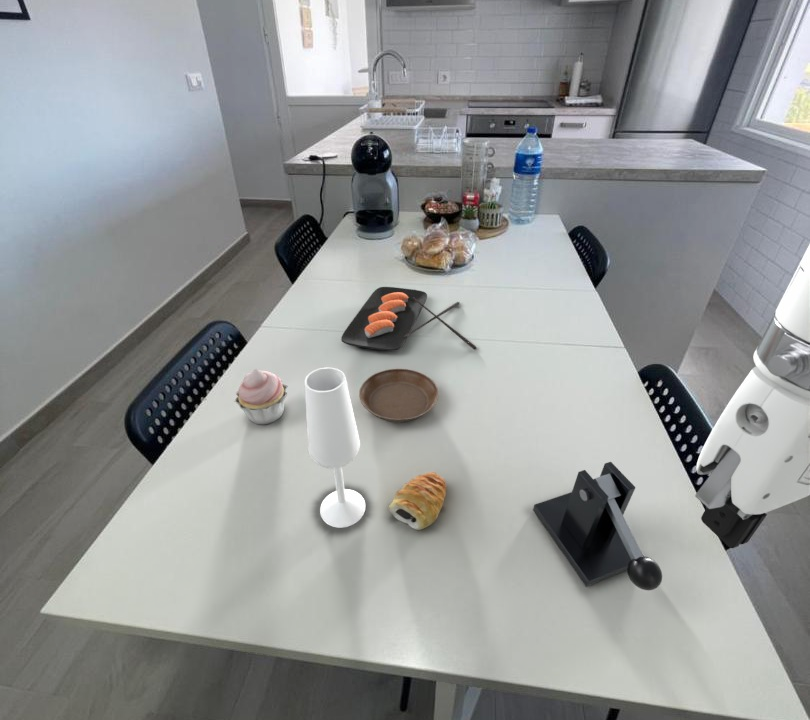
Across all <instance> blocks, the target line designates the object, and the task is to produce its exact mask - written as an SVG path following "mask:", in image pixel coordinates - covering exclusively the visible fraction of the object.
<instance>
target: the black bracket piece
mask: <svg viewBox="0 0 810 720" xmlns="http://www.w3.org/2000/svg"><path fill="white" fill-rule="evenodd" d="M607 474H610V475H611V477H612V479H613V481H614V483H615V485H616V487H617V489H618V491H619V493H620V495H621V496H618V497H615V498H614V499H615V501H616V503H617V505H618V507H619V509H620V511H621V513H622V515H623V516H624V514H625V512H626V510H627V508H628V505H629V504H630V501H631V499H632V496H633V494H634V492H635V490H636V486H635V485H634V484H633V482H631V481H630V480H629V479H628V477H626V476H625V475H624V473H622V471H620V469H619V468H618V467H617V466H616V465H615V464H614V463H613V462H612V461H608V462H605V463H604V464H603V467H602V470H601V473H600V475H599V477H601V476H604V475H607ZM593 479H594V478H593V477H592V476H591V475H590V474H589V472H588V471H587V470H586V469H583V470H580V471H578V472H577V475H576V479H575V482H574V485H573V487H572V491H571V492H568V493H564V494H562V495H559V496H555V497H553V498H549V499H547V500H544V501H542V502H537V503H535V504H534V505H533V508H532V511H533V513H534V514H535V516H536V517H537V518H538V520H540V522H541V525H542V526H543V527H544V528H545V530H546V531H547V533H548V534H549V536H550V537H551V539H552V540H553V542H554V543H555V544H556V546H557V547H558V548H559V550H560V551H561V553H562V554H563V555H564V557H565V559H566V560H567V562H568V563H569V564H570V565H571V567H572V568H573V570H574V572H575V573H576V574H577V576H578V578H579V579H580V580H581V582H582V583H583V584H584V586H585V587H588V586H589V587H590V586H591V585H593V584H597V583H599V582H601V581H603V580H607V579H608V578H611V577H614V576H615V575H618V574H621V573H623V572H625V571H627V567H628V564H629V562H630V561H631V558H630V556H629V554H628V552H627V550H626V548H625V546H624V544H623V542H622V540H621V538H620V536H619V534H618V532H617V530H616V528H615V526H614V523H613V521H612V519H611V517H610V515H609V513H608V511H607V509H606V507H605V505H606V502H607V500H608V495H607V494H606V493H605V492H604V491H603V490H602V489H601V487H600V486H599V485H598V484H597V483H596V482H595V481H594V480H593ZM642 555H643V556H645V555H644V554H643V553H642Z"/></svg>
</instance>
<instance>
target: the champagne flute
mask: <svg viewBox="0 0 810 720" xmlns="http://www.w3.org/2000/svg"><path fill="white" fill-rule="evenodd" d="M304 397H305V414H306V415H305V416H306V429H307V430H306V434H307V450H308V451H307V452H308V454H309V457H310V458H311V460H312V461H313V462H314V463H316V464H317V465H318V466H320V467H322V468H325V469H329V470H333V477H334V478H333V479H334V484H335V490H334V491H333V492H331V493H330V494H328V495H327V496H326V497H325V498H324V499H323V500H322V502H321V504H320V508H319V512H320V513H319V515H320V517H321V519H322V521H323V522H324V523H325V524H327V525H328V526H330V527H333V528H337V529H340V528H342V529H344V528H348V527H352V526H354V525H355V524H357V523H358V522H359V521H361V519H362V518H363V517H364V514H365V511H366V508H367V507H366V501H365V498H364V497H363V495H362V494H360V493H359V492H358V491H356V490H353V489H350V488H349V489H348V488H345V483H344V474H343V468H344V467H346V466H347V465H349V464H351V463H352V462H353V460H354V459H355V458H356V457H357V456H358V453H359V452H360V448H361V440H360V435H359V431H358V427H357V424H356V418H355V414H354V409H353V404H352V400H351V396H350V391H349V387H348V381H347V377H346V374H345V372H343V371H342V370H341V369H339V368H337V367H330V366H329V367H327V366H325V367H319V368H316V369H314V370H312V371H311V372H309V373H308V374H307V375H306V376H305V378H304Z"/></svg>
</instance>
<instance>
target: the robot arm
mask: <svg viewBox="0 0 810 720" xmlns="http://www.w3.org/2000/svg"><path fill="white" fill-rule="evenodd" d="M753 362H754V364H755V366H754V367H753V368H752V369H750V372H749V373H748V374H747V375H746V377H745V378H744V380H743V381H742V383H741V384H740V386H739V387H738V388H737V390H736V391H735V393H734V394H733V395H732V396H731V399H730V400H729V402H728V404H727V405H726V406H725V408H724V409H723V411H722V413H721V415H720V416H719V418H718V419H717V421H716V422H715V425H714V426H713V428H712V429H711V431H710V433H709V435H708V437H707V439H706V441H705V442H704V445H703V447H702V449H701V451H700V453H699V456H698V459H697V462H696V467H695V469H696V473H697V474H698V475H700V476H703V475H709V476H708V477H707V478H706V480H705V481H704V482H703V484H702V485H701V486H700V488H699V489H698V490H697V492H696V493H695V498H696V499H697V500H698V501H700V502H701V504H702V505H704V506H705V507H706V508H705V510H704V511H703V513H702V515H701V516H700V519H701V522H702V523H703V524H704V525H705V526H706V527H707V528H708V529H709V530H710V531H711V532H712V533H714V535H716V537H718V538H719V540H721V541H722V542H723V543H724V544H725V545H726V546H727V547H728V548H730V549H735V548H737V547H739V546H740V545H745V544H748V543H749V541H750V540H751V539H752V537H753V536H754V534H755V532H757V530H758V529H759V527H760V525H761V524H762V523H763V522H764V520H765V518H766V517H767V515H768V514H767V513H768V512H771V511H774V510H776V509H779V508H781V507H784V506H787V505H789V504H793V503H795V502H798V501H799V500H802V499H804V498H807V497H809V496H810V243H809V244H808V246H807V248H806V250H805V252H804V254H803V256H802V258H801V260H800V262H799V263H798V266H797V268H796V270H795V271H794V274H793V276H792V278H791V279H790V282H789V284H788V285H787V288H786V290H785V292H784V293H783V296H782V297H781V299H780V301H779V304H778V305H777V307H776V309H775V311H774V313H773V315H772V318H771V319H770V321H769V323H768V325H767V327H766V329H765V331H764V334H763V335H762V337H761V339H760V341H759V343H758V345H757V347H756V349H755V351H754V352H753Z"/></svg>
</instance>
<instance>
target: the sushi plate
mask: <svg viewBox="0 0 810 720" xmlns="http://www.w3.org/2000/svg"><path fill="white" fill-rule="evenodd" d="M427 299H428V294H427V292H425V291H422V290H418V289H412V288H405V287H394V286H379V287H378V288H376V289H374V291H373V292H372V293H371V295H370V296H369V297H368V299H367V300H366V301H365V303H364V304H363V305H362V307H361V308H360V309H359V311H358V312H357V314H356V315H355V317H354V318H352V321H351V322H349V325H348V326H347V327H346V328H345V330H344V332H342V335H341V337H340V338H341V339H340V340H341V343H343V344H345V345H349V346H353V347H357V348H364V349H371V350H378V351H386V352H387V351H388V352H393V351H397V350H399V349H401V348H402V347H403V345H404V344H405V343H406V341H407V339H408V337H409V336H410V335H412V334H414V333H415V332H416V331H417V330H419V329H421V328H422V327H424V326H426V325H427V324H429V323H430V322H432V321H434V320H435V319H437V320H438V321H439V322H441V323H442V324H443V325H444V326H445V327H447V329H449V330H450V331H451V332H452V333H454V334H455V335H456V336H457V337H458V338H460V339H461V340H462V341H463V342H464V343H465V344H467V345H468V346H469V347H470V348H471V349H473V350H477V346H476V345H475V344H474V343H473V342H471V341H470V340H468V339H467V338H466V337H465V336H463V335H462V334H461V333H460V332H459V331H458V330H456V329H455V328H453V327H452V326H450V325H449V324H448V323H446V322H445V321H444V320H443V319H441V318H440V317H441V316H442V315H444V314H446V313H447V312H449V311H451V310H453V309H454V308H456V307H457V306H459V305H460V301H456V302H455V303H453V304H452V305H450V306H448V307H447V308H445V309H443V310H442V311H441V312H439V313H437V315H436V313H434V312H433V311H432V310H431V309H429V308H428V307H426V306H425V303H426V302H427ZM423 309H425V310H426V311H427V312H428V313H430V314H431V315H432V316H433V317H431V318H430V319H428V320H427V321H426V322H424V323H422V324H420V326H418V327H416V328H414V329H413V327H414V325H415V323H416V321H417V319H418V318H419V315H420V313H421V311H422V310H423ZM412 329H413V330H412Z"/></svg>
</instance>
